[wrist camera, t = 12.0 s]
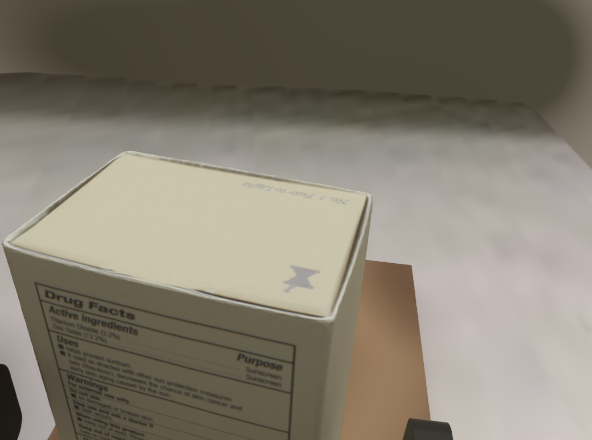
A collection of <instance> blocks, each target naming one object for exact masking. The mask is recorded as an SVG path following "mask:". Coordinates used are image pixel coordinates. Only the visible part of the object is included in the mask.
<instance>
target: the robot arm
mask: <svg viewBox="0 0 592 440" xmlns="http://www.w3.org/2000/svg"><path fill="white" fill-rule="evenodd" d="M21 424H22V413H21V409H20V406H19V403H18V399H17V396H16V392H15V389H14V386H13V382H12V379H11V375H10V372H9V369H8V367H7V366H6V365H4V364H0V440H17V439H18V436H19V433H20V429H21ZM403 440H453V436H452V431H451V427H450V425H449V423H446V422H438V421H430V420H422V419H415V418H409V419H408V422H407V425H406V429H405V433H404V436H403Z"/></svg>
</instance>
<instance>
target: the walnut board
mask: <svg viewBox="0 0 592 440" xmlns="http://www.w3.org/2000/svg"><path fill="white" fill-rule="evenodd" d="M409 418H415V419H422V420H430V412H429V404H428V396H427V387H426V379H425V371H424V363H423V355H422V347H421V339H420V331H419V322H418V314H417V306H416V298H415V290H414V282H413V274H412V266H411V265H404V264H396V263H387V262H378V261H370V260H365V266H364V273H363V280H362V287H361V295H360V303H359V310H358V318H357V325H356V332H355V339H354V347H353V354H352V361H351V367H350V374H349V382H348V389H347V395H346V403H345V410H344V418H343V424H342V430H341V437H340V440H403V436H404V433H405V429H406V425H407V422H408V419H409ZM430 421H431V420H430ZM48 440H60V438H59V435H58V431H57V427H56V426H55V428H54V429H53V431H52V433H51V435H50V437H49V438H48Z"/></svg>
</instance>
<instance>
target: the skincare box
mask: <svg viewBox="0 0 592 440" xmlns="http://www.w3.org/2000/svg"><path fill="white" fill-rule="evenodd" d="M372 204H373V203H372V196H371V194H369V193H366V192H361V191H355V190H349V189H345V188H339V187H334V186H328V185H324V184H317V183H312V182H306V181H301V180H294V179H290V178H283V177H278V176H273V175H266V174H261V173H256V172H250V171H243V170H237V169H233V168H228V167H220V166H214V165H209V164H204V163H199V162H192V161H186V160H179V159H174V158H168V157H162V156H157V155H152V154H145V153H140V152H135V151H126V152H123V153H121V154H119V155H118V156H116V157H115V158H113V159H112V160H111V161H109V162H108V163H107V164H105V165H104V166H103V167H102V168H100V169H99V170H97V171H96V172H94V173H93V174H92V175H90V176H89V177H87V178H86V179H84V180H83V181H82V182H80V183H79V184H78V185H76V186H75V187H73V188H72V189H71V190H69V191H68V192H67V193H66V194H64V195H63V196H61V197H60V198H58V199H57V200H56V201H54V202H53V203H52V204H50V205H49V206H48V207H47V208H45V209H44V210H43V211H41V212H40V213H38V214H37V215H36V216H35V217H33V218H32V219H31V220H29V221H28V222H26V223H25V224H23V225H22V226H21V227H19V228H18V229H17V230H16V231H14V232H13V233H12V234H10V235H9V236H7V237H6V238H5V239H4V240H3V243H2V245H3V248H4V252H5V255H6V258H7V262H8V265H9V268H10V272H11V275H12V278H13V281H14V285H15V288H16V291H17V294H18V298H19V301H20V305H21V309H22V312H23V315H24V319H25V322H26V325H27V328H28V332H29V335H30V339H31V342H32V346H33V349H34V353H35V356H36V360H37V363H38V366H39V370H40V373H41V377H42V380H43V383H44V387H45V390H46V393H47V397H48V401H49V404H50V408H51V411H52V414H53V417H54V420H55V424H56V427H57V431H58V435H59V438H60V440H340V437H341V430H342V424H343V418H344V410H345V403H346V395H347V389H348V382H349V374H350V367H351V361H352V354H353V347H354V339H355V332H356V325H357V318H358V310H359V303H360V295H361V287H362V280H363V273H364V266H365V258H366V250H367V243H368V235H369V227H370V220H371V212H372Z"/></svg>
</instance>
